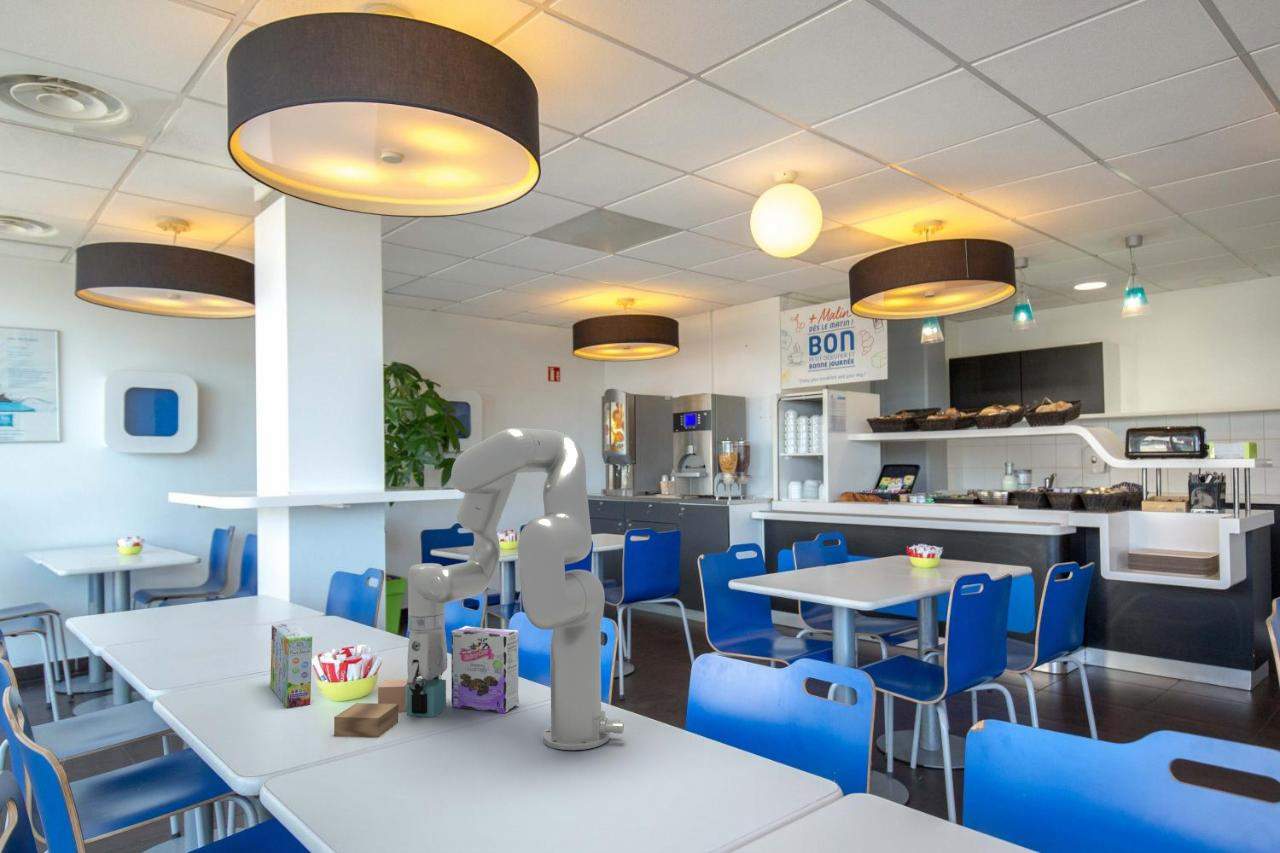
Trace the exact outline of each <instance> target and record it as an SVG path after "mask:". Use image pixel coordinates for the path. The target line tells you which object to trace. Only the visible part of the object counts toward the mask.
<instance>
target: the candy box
mask: <svg viewBox="0 0 1280 853" xmlns="http://www.w3.org/2000/svg"><path fill="white" fill-rule="evenodd" d="M450 642H451V654H450V655H451V661H450V662H451V674H450V675H451V707H453V708H457V709H458V708H460V709H467V710H477V711H483V712H494V713H499V714H506V712H507V713H508V711H509V712H510V710H511V711H512V709H513V710H515V709H516V708H518V707H519V706H518V705H519V630H518V629H503V628H502V629H501V628H500V629H499V628H488V627H487V628H486V627H477V626H469V625H465V626H463V627H459V628H457V629H453V630H451V641H450ZM517 706H518V707H517ZM515 707H516V708H515ZM514 708H515V709H514Z"/></svg>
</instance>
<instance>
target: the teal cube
mask: <svg viewBox="0 0 1280 853" xmlns="http://www.w3.org/2000/svg"><path fill="white" fill-rule="evenodd" d="M417 684H419V685H420V686H421V685H422V682H417ZM410 692H411V690H410V688H409V686H407V710H406V716H410V717H429V718H430V717H431V718H434V717H436V716H437V715H439V714H440V713H441V712H443V711H444V710H445V709H447V679H442V680H439V679H432V680H430V681H427V684H426V690H425V694H427V713H425V714H414V713H412V695H411V693H410Z"/></svg>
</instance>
